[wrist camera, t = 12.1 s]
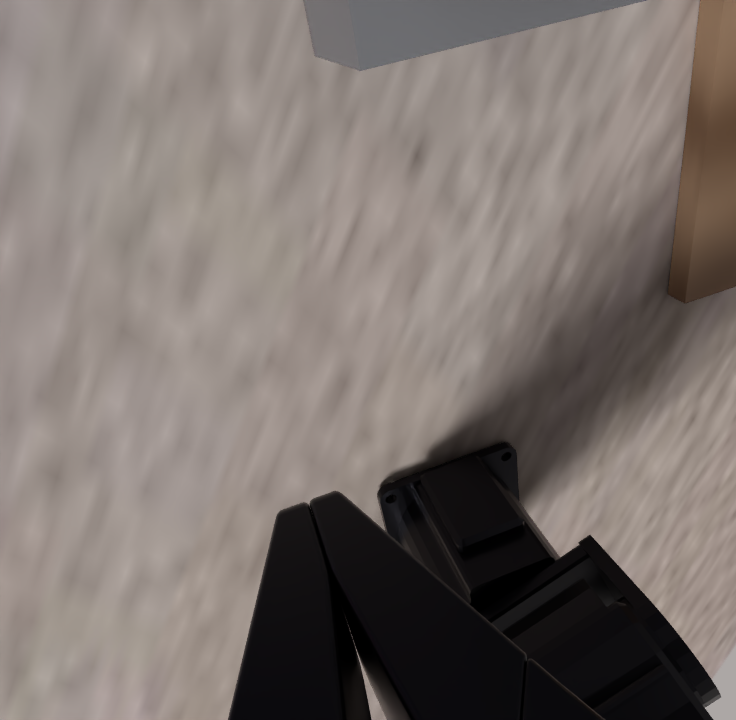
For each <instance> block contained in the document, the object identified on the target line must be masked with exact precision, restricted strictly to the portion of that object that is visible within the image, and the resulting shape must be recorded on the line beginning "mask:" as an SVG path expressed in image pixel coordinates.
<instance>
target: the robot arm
mask: <svg viewBox="0 0 736 720" xmlns="http://www.w3.org/2000/svg"><path fill="white" fill-rule="evenodd" d="M504 453H505V454H504ZM503 454H504V455H503ZM389 495H391V496H390V497H387V496H389ZM377 497H378V502H379V506H380V510H381V514H382V518H383V522H384V526H385V531H384V530H383V529H382V528H381V527H380V526H379V525H378V524H376V523H375V522H374V521H373V520H372V519H371V518H369V517H368V516H367V515H366V514H365V513H364V512H363V511H361V510H360V509H359V508H358V507H357V506H356V505H355V504H353V503H352V502H351V501H350V500H349V499H348V498H347V497H345V496H344V495H343V494H342V493H340V492H338V491H333V492H331V493H328V494H325V495H322V496H319V497H317V498H314V499H312V500H311V501H310V506H309V505H308V504H307V503H305V502H303V503H300V504H297V505H294V506H292V507H289V508H286V509H283V510H281V511H280V512H279V513H278V514H277V516H276V520H275V524H274V528H273V532H272V537H271V541H270V545H269V549H268V553H267V558H266V562H265V566H264V570H263V574H262V579H261V583H260V587H259V591H258V596H257V600H256V604H255V608H254V612H253V617H252V621H251V625H250V629H249V633H248V638H247V642H246V646H245V650H244V654H243V659H242V663H241V667H240V671H239V675H238V680H237V684H236V688H235V692H234V696H233V701H232V705H231V709H230V713H229V717H228V720H371V715H370V710H369V704H368V699H367V694H366V689H365V684H364V679H363V675H362V670H361V666H360V662H359V658H358V655H359V657H360V660H361V663H362V665H363V668H364V670H365V672H366V675H367V677H368V679H369V682H370V684H371V686H372V688H373V690H374V693H375V695H376V697H377V699H378V701H379V703H380V706H381V708H382V710H383V712H384V714H385V716H386V718H387V720H713V719H712V717H711V716H710V715H709V713H708V712H707V711H706V709H705V707H707V706H708V705H710V704H711V703H713V702H714V701H716V700H717V699H719V698H720V697H721V695H720V693H719V691H718V690H717V687H716V686H715V684H714V683H713V681H712V680H711V678H710V677H709V675H708V674H707V672H706V671H705V669H704V668H703V667H702V665H701V664H700V662H699V661H698V660H697V658H696V657H695V656H694V654H693V653H692V652H691V650H690V649H689V648H688V646H687V645H686V644H685V642H684V641H683V640H682V638H681V637H680V636H679V635H678V633H677V632H676V631H675V630H674V628H673V627H672V626H671V625H670V623H669V622H668V621H667V620H666V619H665V617H664V616H663V615H662V614H661V613H660V611H659V610H658V609H657V608H656V607H655V606H654V605H653V603H652V602H651V601H650V600H649V599H648V598H647V597H646V596H645V594H644V593H643V592H642V591H641V590H640V589H639V588H638V587H637V586H636V585H635V584H634V582H633V581H632V580H631V579H630V578H629V577H628V576H627V575H626V574H625V573H624V571H623V570H622V569H621V568H620V567H619V566H618V565H617V564H616V563H615V562H614V560H613V559H612V558H611V557H610V556H609V555H608V554H607V553H606V552H605V551H604V549H603V548H602V547H601V546H600V545H599V544H598V543H597V542H596V541H595V540H594V538H593V537H592V536H591V535H589V536H587V537H586V538H584V539H583V540H581V541H580V542H578V543H579V545H578V546H577V547H575V548H574V549H572V550H571V551H569V552H568V553H566V554H565V555H564V556H562V557H561V558H560V557H559V555H558V554H557V552H556V551H555V550H554V548H553V547H552V546H551V544H550V543H549V542H548V540H547V539H546V538H545V536H544V535H543V534H542V532H541V531H540V529H539V528H538V527H537V525H536V524H535V523H534V521H533V520H532V519H531V517H530V516H529V515H528V513H527V512H526V510H525V509H524V508H523V506H522V505H521V504H520V502H519V490H518V472H517V454H516V450H515V449H514V448H513V446H512V445H511V444H510V443H508V442H503V443H500V444H497V445H494V446H491V447H489V448H486V449H483V450H480V451H478V452H475V453H472V454H469V455H467V456H464V457H461V458H458V459H456V460H453V461H450V462H447V463H445V464H442V465H439V466H436V467H434V468H431V469H428V470H425V471H423V472H420V473H417V474H414V475H412V476H409V477H406V478H403V479H401V480H398V481H395V482H392V483H390V484H387V485H385V486H383V487H382V488H381V489H380V490H379V491H378V493H377ZM310 508H311V509H310ZM311 511H312V512H311ZM345 616H346V617H345ZM346 619H347V620H346ZM347 622H348V623H347ZM348 625H349V626H348ZM349 628H350V629H349ZM350 631H351V632H350ZM351 634H352V635H351ZM352 637H353V638H352ZM353 640H354V641H353ZM354 643H355V645H354ZM355 646H356V648H355ZM356 649H357V651H356ZM357 652H358V655H357Z"/></svg>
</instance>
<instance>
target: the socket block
mask: <svg viewBox="0 0 736 720" xmlns="http://www.w3.org/2000/svg"><path fill="white" fill-rule="evenodd" d="M642 1H646V0H304V5H305V10H306V15H307V20H308V25H309V30H310V34H311V39H312V44H313V49H314V54H315V56H316V57H319V58H322V59H325V60H328V61H332V62H335V63H338V64H341V65H344V66H347V67H350V68H353V69H356V70H359V71H362V70H366V69H370V68H374V67H378V66H382V65H386V64H390V63H394V62H398V61H402V60H406V59H410V58H415V57H419V56H423V55H427V54H431V53H435V52H439V51H443V50H447V49H451V48H455V47H459V46H463V45H467V44H471V43H475V42H479V41H484V40H488V39H492V38H496V37H500V36H504V35H508V34H512V33H516V32H520V31H524V30H528V29H532V28H536V27H540V26H544V25H549V24H553V23H557V22H561V21H565V20H569V19H573V18H577V17H581V16H585V15H589V14H593V13H597V12H601V11H605V10H609V9H614V8H618V7H622V6H626V5H630V4H634V3H638V2H642Z"/></svg>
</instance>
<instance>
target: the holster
mask: <svg viewBox="0 0 736 720" xmlns="http://www.w3.org/2000/svg"><path fill="white" fill-rule="evenodd" d="M735 286H736V0H700V7H699V16H698V25H697V34H696V43H695V52H694V61H693V70H692V80H691V89H690V98H689V107H688V116H687V125H686V134H685V143H684V152H683V161H682V170H681V179H680V188H679V197H678V206H677V216H676V225H675V234H674V243H673V252H672V261H671V270H670V279H669V288H668V294H669V295H670V296H672V297H674V298H676V299H677V300H679V301H681V302H683V303H688V302H691V301H694V300H697V299H700V298H703V297H706V296H709V295H712V294H715V293H718V292H721V291H724V290H726V289H729V288H732V287H735Z"/></svg>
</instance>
